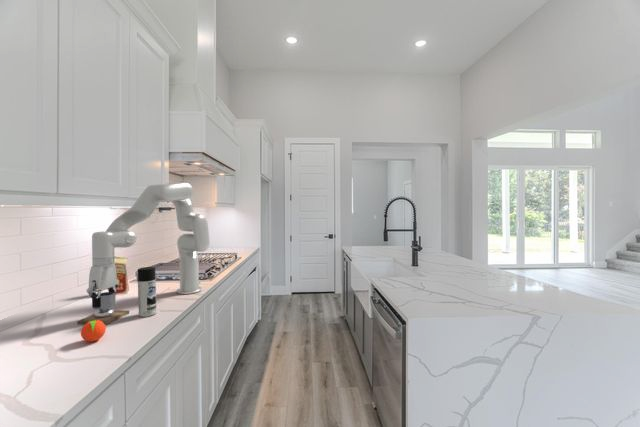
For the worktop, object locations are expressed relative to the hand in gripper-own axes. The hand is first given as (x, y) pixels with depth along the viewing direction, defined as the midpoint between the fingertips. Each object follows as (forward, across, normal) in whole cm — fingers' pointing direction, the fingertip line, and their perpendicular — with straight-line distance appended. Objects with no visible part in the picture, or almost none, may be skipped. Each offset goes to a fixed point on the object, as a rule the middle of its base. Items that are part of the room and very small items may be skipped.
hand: (104, 304), depth 127 cm
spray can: (+6, -5, +15) cm, 17 cm away
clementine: (+6, +21, +13) cm, 25 cm away
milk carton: (+6, -38, -22) cm, 44 cm away
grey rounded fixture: (+5, 0, 0) cm, 5 cm away
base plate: (+6, 0, 0) cm, 6 cm away
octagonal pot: (+1, 0, 0) cm, 1 cm away
